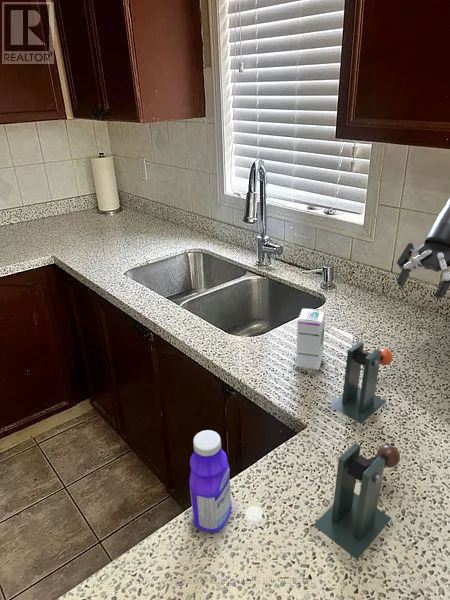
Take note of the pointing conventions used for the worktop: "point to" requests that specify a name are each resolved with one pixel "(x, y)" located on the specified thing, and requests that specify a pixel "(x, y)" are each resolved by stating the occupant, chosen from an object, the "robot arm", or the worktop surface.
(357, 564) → the worktop surface
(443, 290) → the robot arm
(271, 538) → the worktop surface
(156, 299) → the worktop surface
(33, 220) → the worktop surface
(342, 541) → the bracket
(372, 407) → the bracket
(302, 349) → the syrup box
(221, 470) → the bottle
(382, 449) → the rod
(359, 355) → the rod
